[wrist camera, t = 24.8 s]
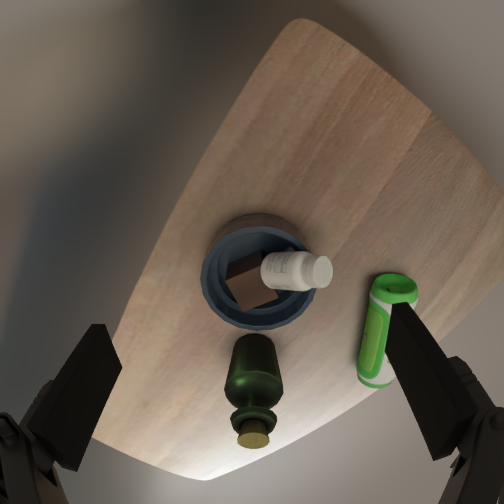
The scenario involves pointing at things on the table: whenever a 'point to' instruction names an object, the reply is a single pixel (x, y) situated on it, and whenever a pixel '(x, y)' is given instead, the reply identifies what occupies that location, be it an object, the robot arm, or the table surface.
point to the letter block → (249, 282)
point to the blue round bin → (238, 246)
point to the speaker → (382, 327)
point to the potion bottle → (253, 389)
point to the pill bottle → (296, 271)
